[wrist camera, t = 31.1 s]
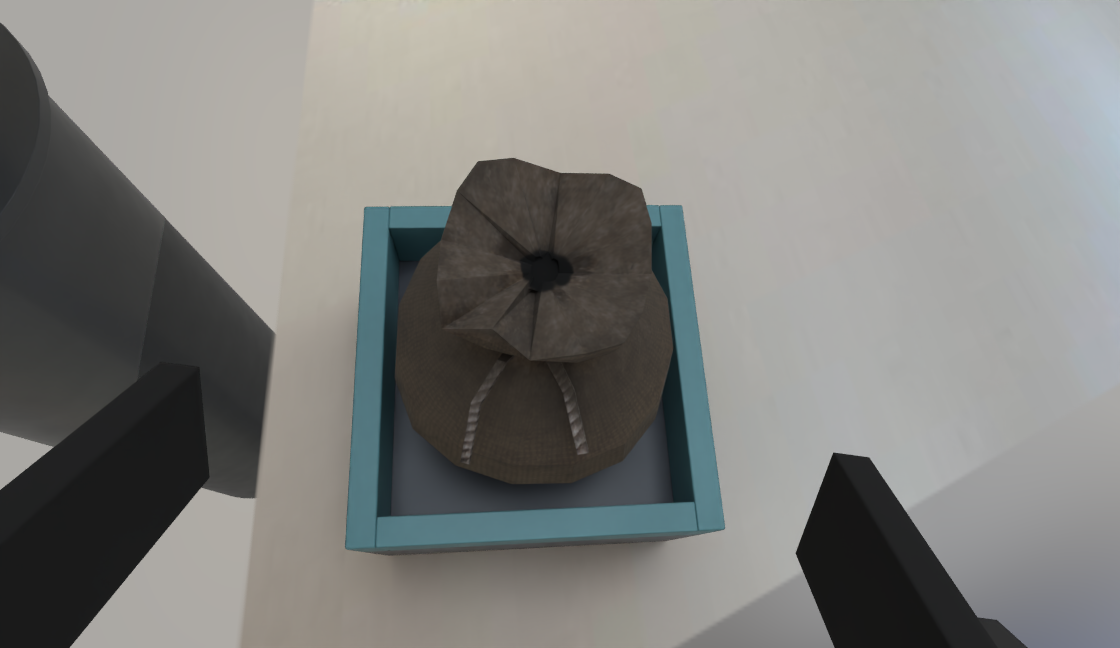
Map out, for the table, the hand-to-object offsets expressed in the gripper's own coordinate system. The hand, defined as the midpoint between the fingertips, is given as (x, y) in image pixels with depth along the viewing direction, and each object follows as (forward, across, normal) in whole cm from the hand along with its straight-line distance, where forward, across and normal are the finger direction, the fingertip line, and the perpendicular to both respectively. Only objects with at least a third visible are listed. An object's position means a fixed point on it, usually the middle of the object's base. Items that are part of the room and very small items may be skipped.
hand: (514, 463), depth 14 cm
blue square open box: (+17, 0, -9) cm, 19 cm away
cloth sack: (+13, 0, -5) cm, 14 cm away
